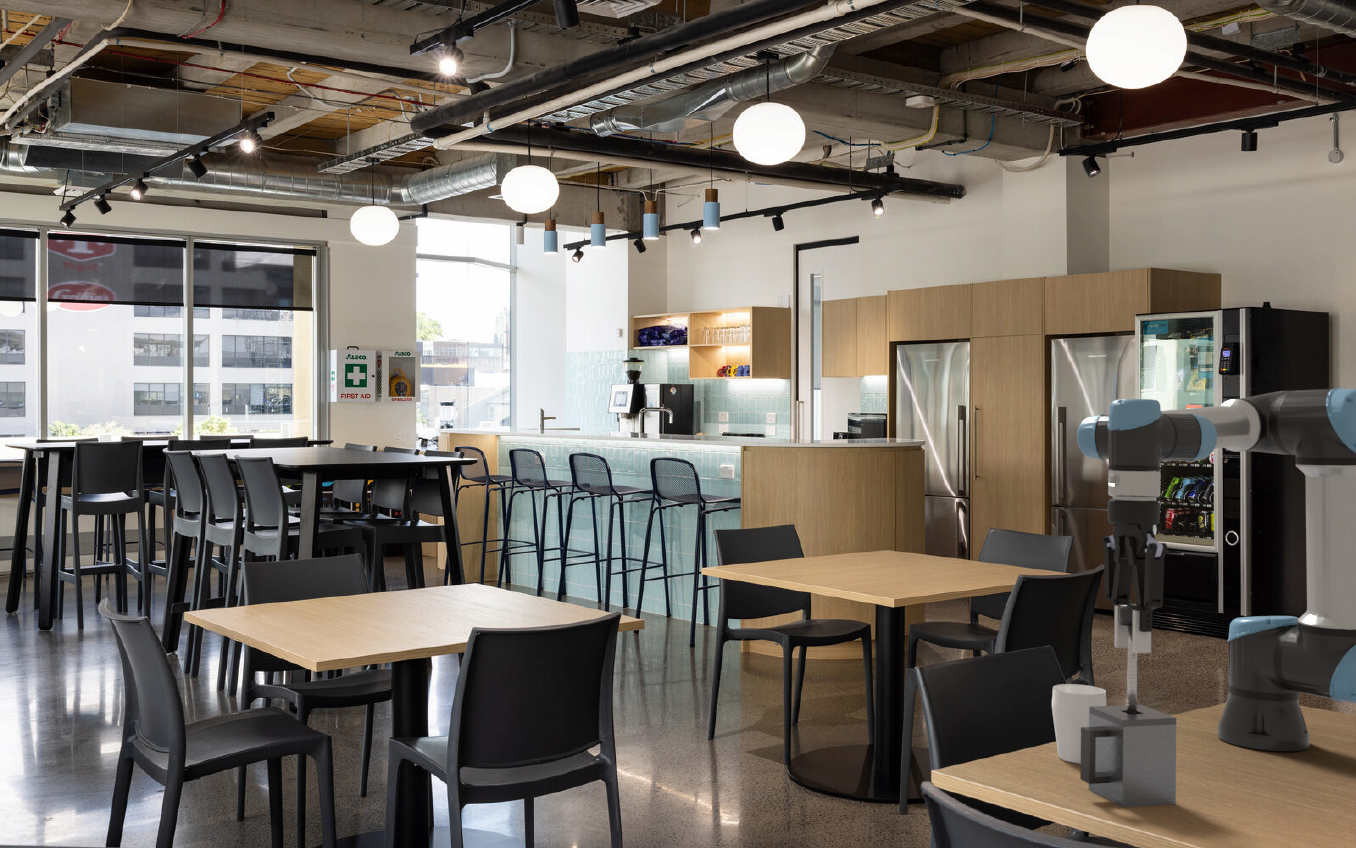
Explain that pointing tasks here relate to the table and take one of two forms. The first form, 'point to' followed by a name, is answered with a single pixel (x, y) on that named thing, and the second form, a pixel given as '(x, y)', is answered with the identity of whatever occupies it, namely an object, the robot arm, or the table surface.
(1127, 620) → the plunger
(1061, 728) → the cup
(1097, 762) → the grey box with handle
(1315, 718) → the table surface
